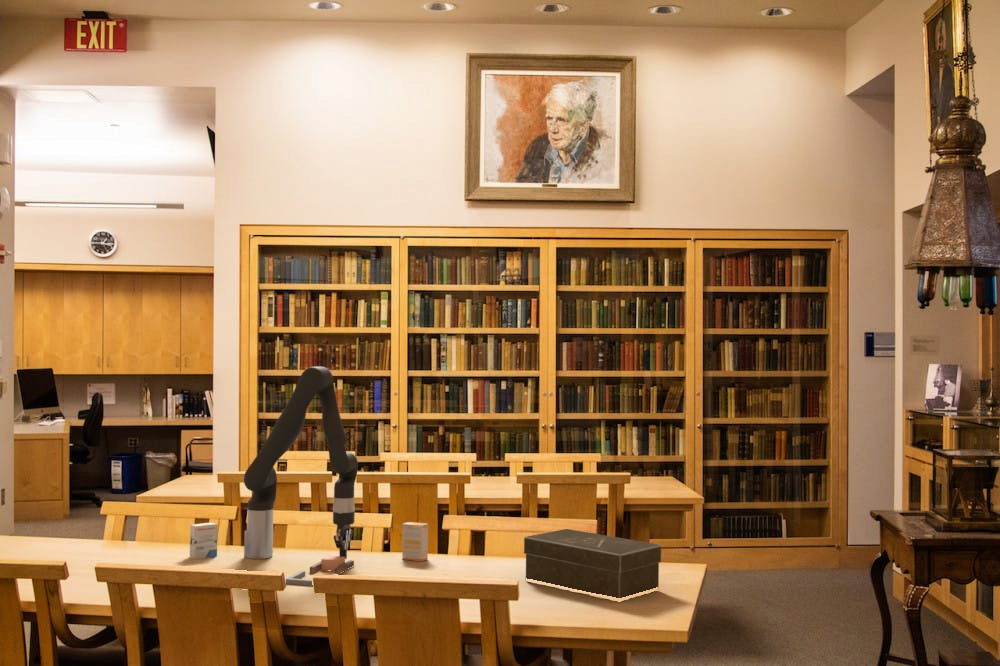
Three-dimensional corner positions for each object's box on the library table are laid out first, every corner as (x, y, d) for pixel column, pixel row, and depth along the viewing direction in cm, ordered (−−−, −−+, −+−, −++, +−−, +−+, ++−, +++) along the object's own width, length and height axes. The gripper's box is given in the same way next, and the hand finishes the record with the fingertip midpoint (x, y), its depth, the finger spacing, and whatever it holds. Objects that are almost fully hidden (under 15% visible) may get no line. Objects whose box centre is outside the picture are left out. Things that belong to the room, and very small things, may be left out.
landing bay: (284, 583, 327) (284, 579, 327) (301, 575, 339) (301, 570, 339) (322, 586, 324) (322, 581, 324) (337, 577, 336) (337, 573, 336)
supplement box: (428, 559, 367) (428, 523, 367) (421, 562, 363) (422, 525, 363) (408, 557, 371) (408, 521, 371) (401, 559, 366) (402, 523, 367)
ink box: (211, 554, 371) (212, 522, 371) (217, 556, 367) (218, 524, 367) (189, 557, 365) (189, 524, 366) (194, 559, 361) (195, 526, 362)
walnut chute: (309, 572, 343) (309, 567, 343) (325, 564, 356) (326, 558, 357) (338, 575, 340) (338, 569, 341) (353, 566, 354) (353, 560, 354)
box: (619, 604, 309) (620, 554, 309) (523, 582, 335) (523, 536, 336) (661, 591, 325) (661, 544, 325) (565, 571, 352) (566, 528, 352)
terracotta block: (321, 570, 347) (321, 559, 348) (329, 567, 353) (329, 555, 353) (337, 572, 346) (337, 560, 346) (344, 568, 351) (345, 556, 351)
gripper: (340, 506, 366) (340, 555, 365) (326, 512, 353) (325, 562, 352) (360, 507, 364) (359, 556, 364) (346, 513, 351) (346, 564, 351)
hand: (343, 559), depth 358 cm, fingers closed
